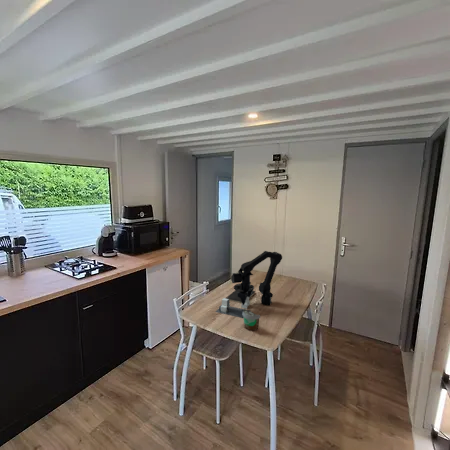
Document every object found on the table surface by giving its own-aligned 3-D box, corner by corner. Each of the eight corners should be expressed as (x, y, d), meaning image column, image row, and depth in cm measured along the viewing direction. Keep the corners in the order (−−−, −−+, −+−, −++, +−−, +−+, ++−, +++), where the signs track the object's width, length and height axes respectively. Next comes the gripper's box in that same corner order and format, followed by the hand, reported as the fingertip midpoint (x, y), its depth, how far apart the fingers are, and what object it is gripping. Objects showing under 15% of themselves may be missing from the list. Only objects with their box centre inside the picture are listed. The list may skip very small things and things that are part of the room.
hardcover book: (255, 293, 208) (255, 291, 208) (244, 305, 188) (244, 302, 188) (237, 290, 216) (237, 287, 215) (224, 300, 196) (224, 297, 195)
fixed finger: (230, 308, 181) (230, 298, 180) (226, 312, 175) (226, 302, 174) (224, 306, 183) (224, 297, 182) (220, 311, 177) (220, 300, 176)
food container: (238, 326, 158) (238, 311, 157) (244, 322, 162) (244, 308, 161) (253, 334, 149) (253, 318, 148) (260, 330, 154) (260, 314, 152)
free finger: (249, 305, 186) (250, 295, 185) (246, 309, 180) (246, 299, 179) (243, 304, 188) (244, 294, 187) (240, 308, 182) (240, 298, 181)
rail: (251, 311, 177) (251, 308, 177) (245, 319, 167) (245, 315, 166) (222, 305, 187) (222, 302, 186) (215, 312, 176) (215, 309, 175)
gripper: (240, 275, 193) (240, 295, 196) (230, 284, 177) (230, 305, 179) (254, 277, 189) (254, 297, 191) (245, 286, 172) (245, 308, 174)
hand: (245, 302), depth 184 cm, fingers open, 9 cm apart
